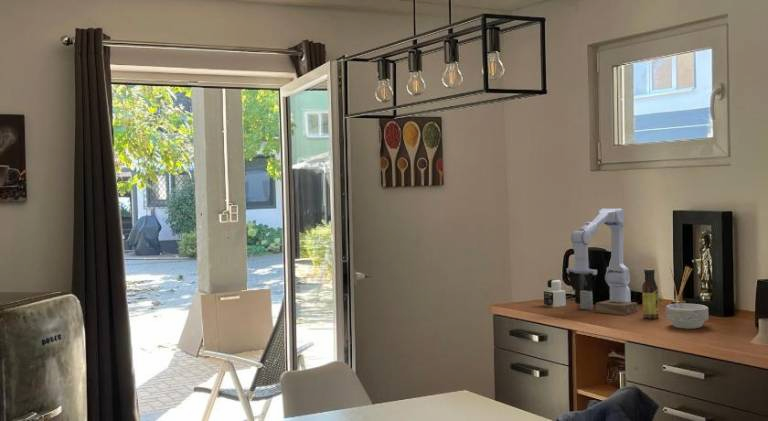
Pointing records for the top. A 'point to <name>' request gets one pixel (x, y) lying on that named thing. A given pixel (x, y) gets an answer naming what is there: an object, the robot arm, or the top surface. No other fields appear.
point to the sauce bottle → (650, 295)
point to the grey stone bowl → (687, 315)
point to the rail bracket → (586, 300)
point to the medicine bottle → (554, 294)
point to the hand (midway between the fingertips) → (582, 290)
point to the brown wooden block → (616, 307)
